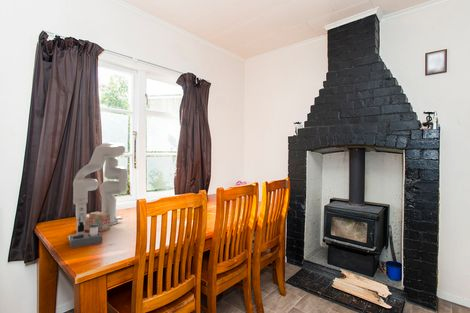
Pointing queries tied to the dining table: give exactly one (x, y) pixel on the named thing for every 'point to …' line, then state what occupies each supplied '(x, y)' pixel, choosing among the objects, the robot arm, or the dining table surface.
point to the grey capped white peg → (93, 229)
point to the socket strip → (84, 240)
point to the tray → (73, 235)
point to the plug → (77, 228)
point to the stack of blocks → (98, 220)
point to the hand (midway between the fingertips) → (80, 230)
